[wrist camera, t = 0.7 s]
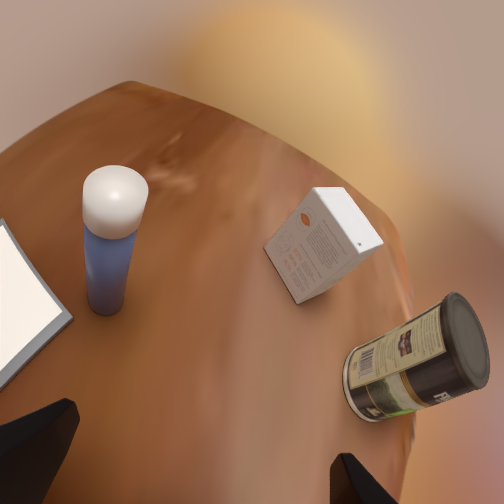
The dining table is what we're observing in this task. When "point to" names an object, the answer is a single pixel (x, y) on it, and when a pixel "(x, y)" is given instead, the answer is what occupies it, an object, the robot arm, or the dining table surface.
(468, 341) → the coffee can
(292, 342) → the dining table surface
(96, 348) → the dining table surface
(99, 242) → the marker
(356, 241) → the small box
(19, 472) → the robot arm
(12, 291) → the clipboard
